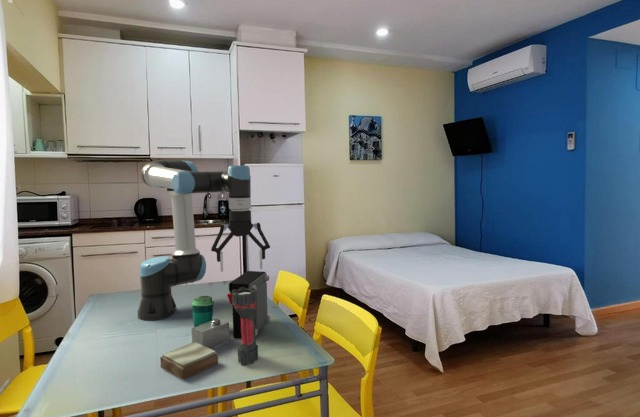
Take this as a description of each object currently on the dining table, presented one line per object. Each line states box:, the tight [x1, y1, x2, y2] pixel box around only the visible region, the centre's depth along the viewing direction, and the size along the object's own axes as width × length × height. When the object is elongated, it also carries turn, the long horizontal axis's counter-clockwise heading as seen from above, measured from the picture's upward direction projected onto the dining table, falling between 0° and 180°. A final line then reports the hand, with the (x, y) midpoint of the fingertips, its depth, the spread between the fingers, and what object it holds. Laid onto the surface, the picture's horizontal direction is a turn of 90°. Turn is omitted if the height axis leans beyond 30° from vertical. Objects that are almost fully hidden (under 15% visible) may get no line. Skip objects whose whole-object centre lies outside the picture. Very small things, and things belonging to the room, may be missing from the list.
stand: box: [160, 342, 219, 381], centre depth 116 cm, size 12×12×4 cm
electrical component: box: [226, 270, 271, 340], centre depth 142 cm, size 18×10×20 cm, turn 168°
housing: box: [191, 317, 231, 350], centre depth 130 cm, size 6×11×8 cm, turn 143°
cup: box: [191, 295, 215, 327], centre depth 143 cm, size 8×8×12 cm
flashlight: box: [231, 287, 259, 366], centre depth 117 cm, size 8×8×23 cm
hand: (241, 269), depth 135 cm, fingers open, 13 cm apart
